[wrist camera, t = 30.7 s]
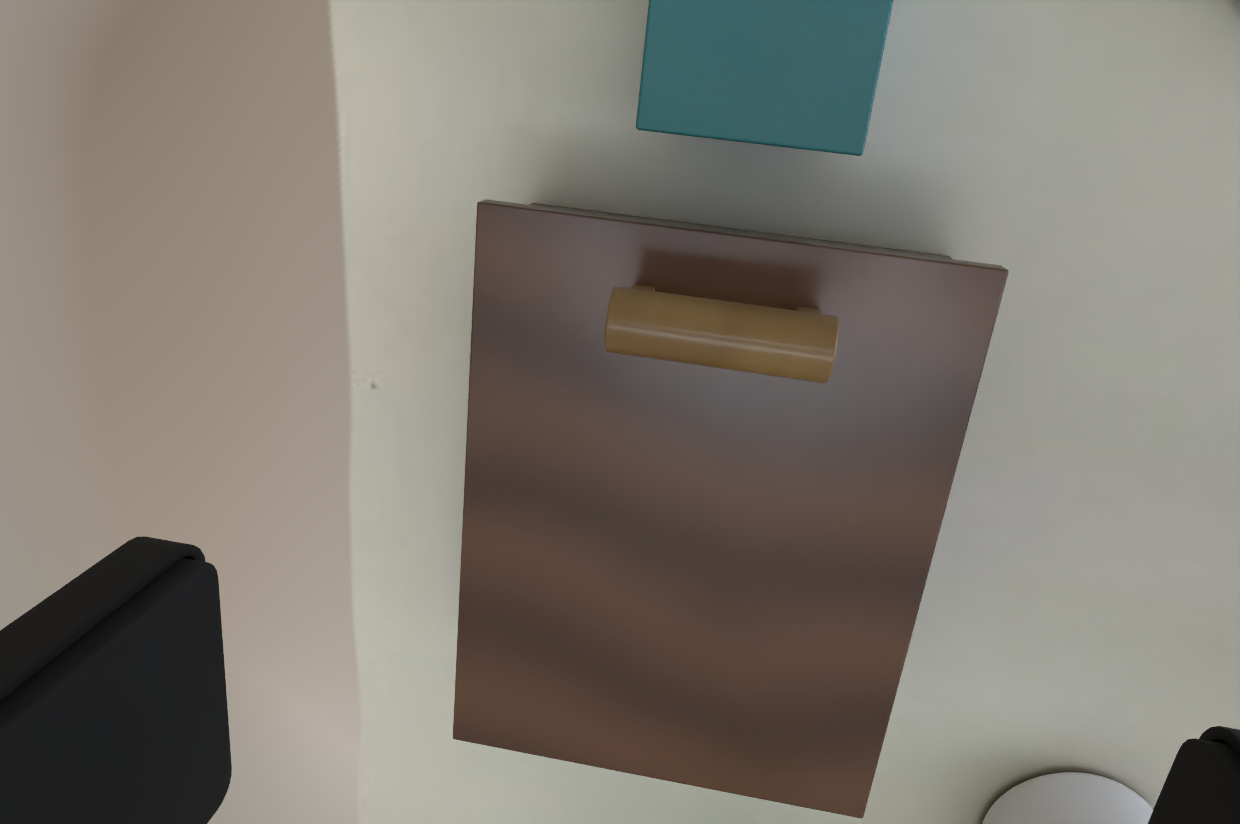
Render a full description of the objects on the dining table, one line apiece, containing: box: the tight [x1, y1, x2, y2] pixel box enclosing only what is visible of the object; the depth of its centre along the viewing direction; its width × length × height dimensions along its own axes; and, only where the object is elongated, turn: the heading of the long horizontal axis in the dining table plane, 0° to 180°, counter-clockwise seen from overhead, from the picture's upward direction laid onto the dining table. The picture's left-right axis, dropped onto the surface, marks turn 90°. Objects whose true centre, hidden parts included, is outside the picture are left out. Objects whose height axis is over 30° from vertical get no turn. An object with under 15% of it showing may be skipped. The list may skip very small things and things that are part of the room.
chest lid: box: [453, 200, 1008, 818], centre depth 27 cm, size 21×16×5 cm
